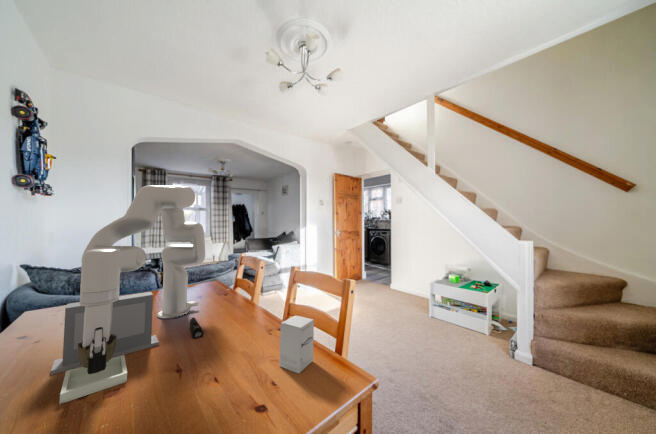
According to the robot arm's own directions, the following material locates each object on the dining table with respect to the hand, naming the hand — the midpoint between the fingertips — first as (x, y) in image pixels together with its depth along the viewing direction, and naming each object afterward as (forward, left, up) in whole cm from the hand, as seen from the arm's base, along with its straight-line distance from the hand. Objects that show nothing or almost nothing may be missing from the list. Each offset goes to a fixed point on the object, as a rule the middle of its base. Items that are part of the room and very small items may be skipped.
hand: (97, 364), depth 62 cm
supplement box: (-43, +29, -4) cm, 52 cm away
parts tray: (0, 0, -4) cm, 4 cm away
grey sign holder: (-3, -15, -4) cm, 16 cm away
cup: (0, 0, -2) cm, 2 cm away
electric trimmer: (-27, -15, -5) cm, 31 cm away
